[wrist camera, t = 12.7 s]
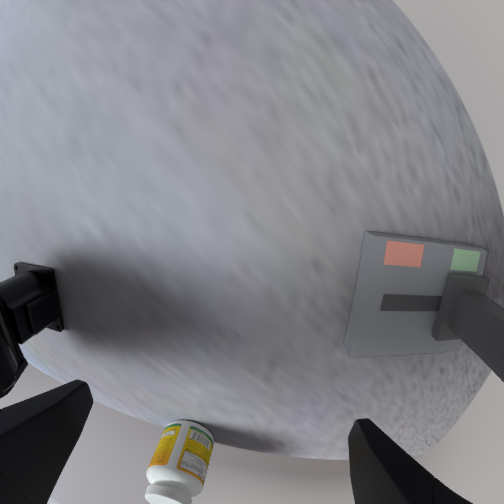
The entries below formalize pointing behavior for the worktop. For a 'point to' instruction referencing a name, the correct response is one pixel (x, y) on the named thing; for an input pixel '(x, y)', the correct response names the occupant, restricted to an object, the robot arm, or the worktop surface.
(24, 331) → the robot arm
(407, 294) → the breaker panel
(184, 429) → the supplement bottle
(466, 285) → the breaker handle
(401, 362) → the worktop surface
